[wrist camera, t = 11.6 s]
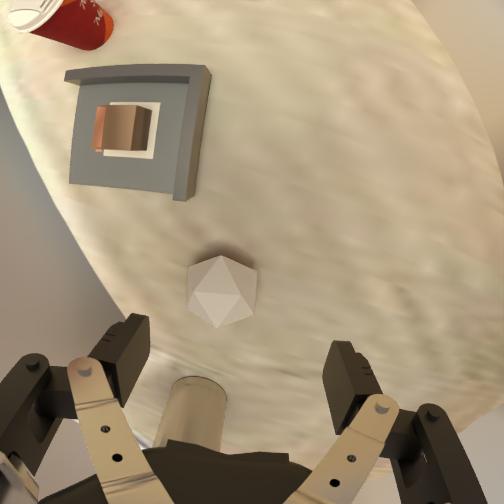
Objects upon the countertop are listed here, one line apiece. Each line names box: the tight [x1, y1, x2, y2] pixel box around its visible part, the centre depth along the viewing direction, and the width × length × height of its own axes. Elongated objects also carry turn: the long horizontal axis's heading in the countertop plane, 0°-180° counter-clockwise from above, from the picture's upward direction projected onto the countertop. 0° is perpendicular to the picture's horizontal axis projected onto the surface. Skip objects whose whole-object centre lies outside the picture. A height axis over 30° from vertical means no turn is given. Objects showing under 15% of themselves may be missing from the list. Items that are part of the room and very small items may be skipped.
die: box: [186, 255, 257, 329], centre depth 36 cm, size 8×9×10 cm
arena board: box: [64, 64, 212, 202], centre depth 32 cm, size 15×18×5 cm
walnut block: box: [92, 105, 152, 151], centre depth 31 cm, size 5×5×5 cm
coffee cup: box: [8, 0, 113, 50], centre depth 22 cm, size 8×8×15 cm
